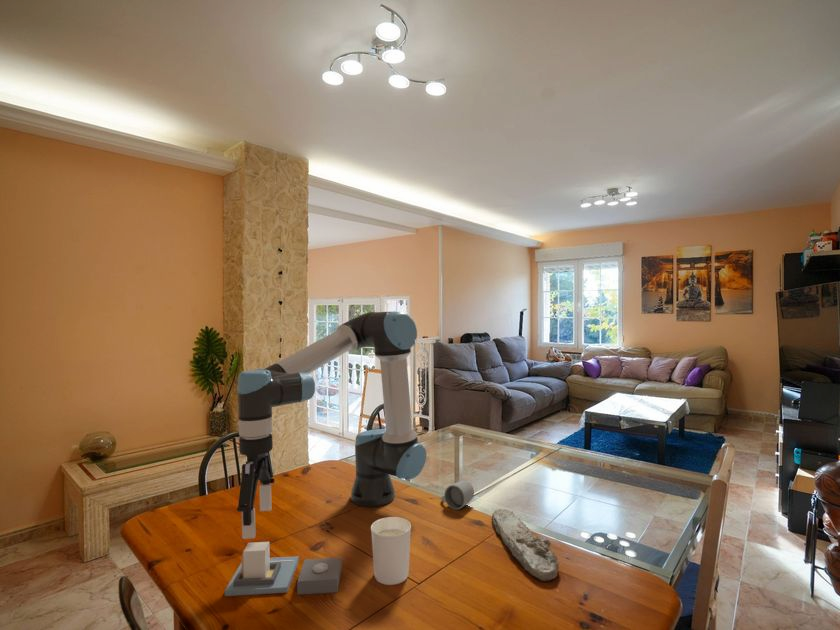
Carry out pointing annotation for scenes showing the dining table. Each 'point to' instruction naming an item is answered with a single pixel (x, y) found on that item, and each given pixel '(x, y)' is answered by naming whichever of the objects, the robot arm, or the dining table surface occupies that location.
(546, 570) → the long grey stone
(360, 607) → the dining table surface
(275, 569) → the board
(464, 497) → the ceramic mug
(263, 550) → the plug
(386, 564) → the candle holder
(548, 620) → the dining table surface
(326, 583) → the grey push button box
